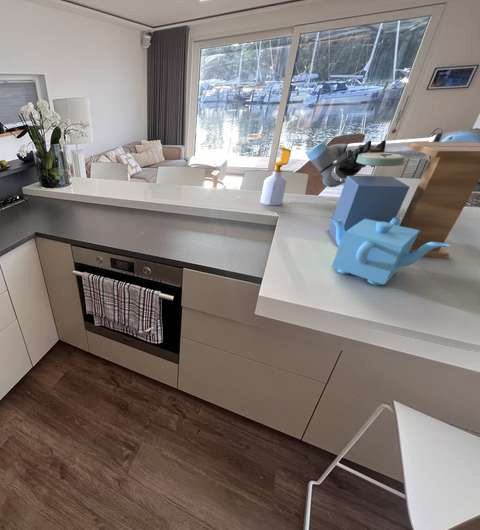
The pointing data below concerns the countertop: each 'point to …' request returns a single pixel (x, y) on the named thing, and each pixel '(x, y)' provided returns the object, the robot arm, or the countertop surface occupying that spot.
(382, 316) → the countertop surface
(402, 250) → the teakettle
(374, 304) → the countertop surface
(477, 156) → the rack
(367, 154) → the clock
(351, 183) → the slate blue block
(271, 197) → the soap bottle
